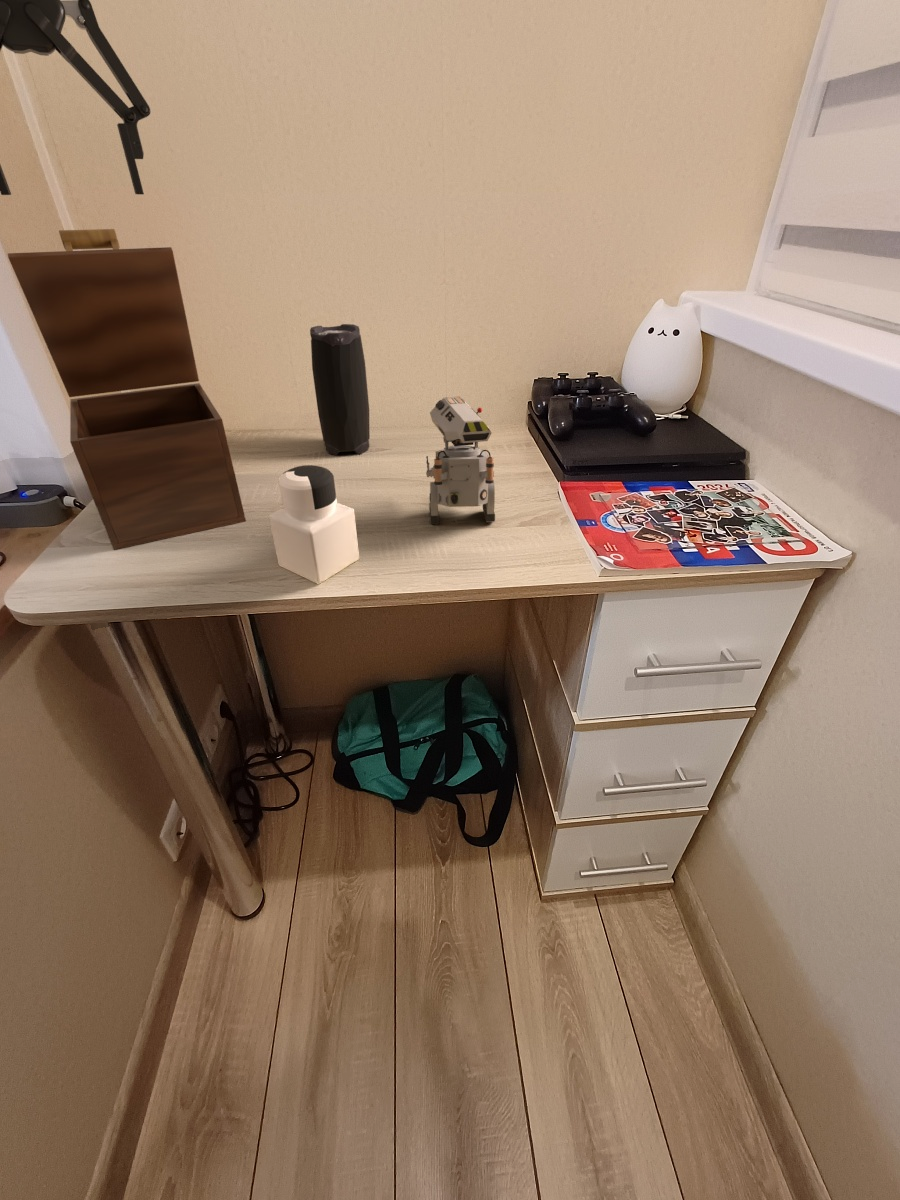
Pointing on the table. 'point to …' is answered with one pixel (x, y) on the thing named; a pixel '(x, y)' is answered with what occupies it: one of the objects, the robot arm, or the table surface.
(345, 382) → the portable speaker
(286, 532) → the medicine bottle
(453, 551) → the table surface
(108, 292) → the chest lid
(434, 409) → the figurine
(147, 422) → the chest
